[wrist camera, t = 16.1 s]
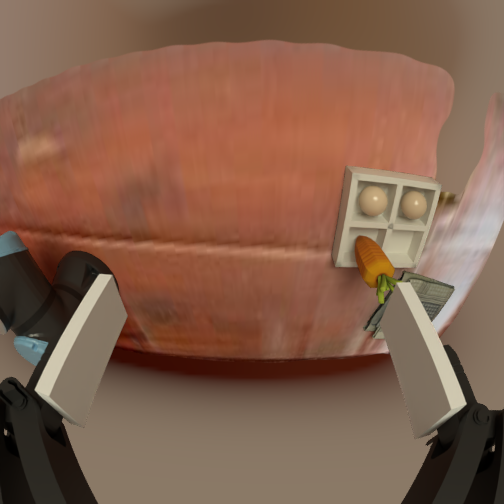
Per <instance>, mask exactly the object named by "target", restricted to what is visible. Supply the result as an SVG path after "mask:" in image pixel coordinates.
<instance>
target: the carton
mask: <svg viewBox="0 0 504 504" xmlns="http://www.w3.org/2000/svg"><path fill="white" fill-rule="evenodd" d="M368 186H378V187H380V188H381V189H382V190H384V192H385V193H386V195H387V198H388V204H387V208H386V210H385V211H384V212H383V213H382V214H380V215H378V216H369V215H367V214H365V213H364V212H363V211H362V210H361V208H360V206H359V202H358V198H359V194H360V192H361V191H362V190H363V189H364V188H365V187H368ZM441 187H442V185H441V184H439V183H438V182H437V181H435V180H434V179H433V178H431V177H426V176H420V175H414V174H408V173H401V172H394V171H387V170H380V169H372V168H364V167H355V166H346V168H345V176H344V183H343V190H342V197H341V203H340V209H339V216H338V221H337V227H336V233H335V238H334V244H333V249H332V254H331V255H332V258H333V261H334V264H335V267H358V266H357V263H356V258H355V251H354V250H355V243H356V239H357V237H358V236H359V235H360V236H367V237H369V238H371V239H372V240H373V241H375V242H376V243H377V244H378V245H379V246H380V248H381V249H382V250H383V252H384V253H385V255H386V256H387V257H388V259H389V260H390V262H391V263H392V265H393V266H394V268H416V266H417V264H418V261H419V258H420V256H421V253H422V250H423V247H424V244H425V242H426V239H427V236H428V232H429V229H430V226H431V223H432V220H433V216H434V213H435V210H436V206H437V202H438V199H439V195H440V191H441ZM408 191H418V192H420V193H421V194H422V195H423V196H424V197H425V199H426V202H427V210H426V212H425V214H424V215H423V216H422V217H421V218H419V219H410V218H408V217H406V216H405V215H404V214H403V212H402V210H401V207H400V202H401V198H402V196H403V195H404V194H405V193H406V192H408Z"/></svg>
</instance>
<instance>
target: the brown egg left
mask: <svg viewBox="0 0 504 504" xmlns="http://www.w3.org/2000/svg"><path fill="white" fill-rule="evenodd" d="M358 202H359V206H360V208H361V210H362V211H363V212H364V213H365V214H367V215H369V216H378V215H380V214H382V213H383V212H384V211H385V210H386V208H387V204H388V198H387V195H386V193H385V192H384V190H382V189H381V188H380V187H378V186H368V187H365V188H364V189H363V190H362V191H361V192H360V194H359V198H358Z"/></svg>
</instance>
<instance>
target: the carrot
mask: <svg viewBox="0 0 504 504" xmlns="http://www.w3.org/2000/svg"><path fill="white" fill-rule="evenodd" d="M354 251H355V258H356V263H357V266H358V268H359V271H360V274H361V276H362V278H363V280H364V281H365V282H366V283H367V285H368V286H369V287H370V288H377V293H376V295H378V301H379V303H381V304H383V303H384V291H386V290H389V288H390V290H391V291H392V292H393V290H394V287H393V286H392V285H391V284H390V283H392V284H394V285H396V283H401V282H402V281H400V280H396V279H394V278H392V277H393V274H394V271H395V269H394V266H393V265H392V263H391V262H390V260H389V259H388V257H387V256H386V255H385V253H384V252H383V250H382V249H381V248H380V246H379V245H378V244H377V243H376V242H375V241H373V240H372V239H371V238H369V237H367V236H360V235H359V236H358V237H357V239H356V243H355V250H354ZM389 282H390V283H389Z"/></svg>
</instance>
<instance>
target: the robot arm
mask: <svg viewBox="0 0 504 504" xmlns="http://www.w3.org/2000/svg"><path fill="white" fill-rule="evenodd" d="M28 250H29V249H28V248H27V247H26V246H25V245H24V243H23V242H22V240H21V239H20V237H19V236H18V234H17V233H15V232H13V231H8V232H6V233H4V234H3V235H1V236H0V334H6V333H7V332H8V330H9V329H11V330H12V331H13V332H14V333H15V334H16V336H17V337H15V339H14V346H15V348H16V349H17V351H18V352H19V353H20V355H22V356H23V357H24V358H25V359H26V360H27V361H29V362H30V363H32V364H33V365H35V366H36V368H35V370H34V372H33V374H32V376H31V378H30V380H29V382H28V384H27V386H26V388H24V386H23V385H21V383H20V382H19V381H18V380H17V379H16V378H13V377H9V378H6V379H5V380H3V381H2V383H1V384H0V504H98V503H97V501H96V499H95V497H94V495H93V493H92V491H91V489H90V487H89V485H88V483H87V481H86V479H85V477H84V475H83V472H82V470H81V468H80V466H79V463H78V461H77V459H76V456H75V454H74V451H73V449H72V446H71V443H70V441H69V438H68V435H67V432H66V429H65V426H64V424H63V423H62V419H63V417H64V418H65V419H66V420H67V421H68V422H69V423H71V424H74V425H77V426H79V427H82V428H84V427H85V423H86V420H87V418H88V415H89V412H90V409H91V406H92V403H93V400H94V397H95V395H96V392H97V389H98V386H99V384H100V381H101V378H102V376H103V373H104V371H105V368H106V365H107V363H108V361H109V358H110V356H111V353H112V351H113V348H114V346H115V344H116V341H117V339H118V337H119V334H120V332H121V330H122V327H123V325H124V323H125V321H126V318H127V313H126V311H125V308H124V306H123V303H122V300H121V298H120V295H119V292H118V285H117V281H116V279H115V277H114V275H113V274H112V272H111V271H110V269H109V268H108V267H107V266H106V265H105V264H104V263H103V262H102V261H101V260H99V259H98V258H96V257H95V256H93V255H91V254H89V253H86V252H83V251H72V252H69V253H67V254H66V255H65V256H64V257H63V259H62V260H61V261H60V262H59V264H58V267H57V273H56V275H55V277H54V280H53V283H52V286H51V284H50V283H49V281H48V280H47V279H46V277H45V276H44V274H43V273H42V271H41V270H40V268H39V267H38V265H37V264H36V262H35V260H34V259H33V257H32V256H31V254H30V252H29V251H28ZM380 326H381V329H382V332H383V334H384V337H385V340H386V343H387V346H388V349H389V352H390V354H391V357H392V360H393V364H394V367H395V369H396V373H397V376H398V379H399V382H400V386H401V389H402V393H403V396H404V400H405V403H406V407H407V410H408V414H409V418H410V422H411V426H412V430H413V434H414V438H415V439H417V438H420V437H424V436H427V435H430V434H431V433H432V432H434V431H435V430H436V429H437V431H438V434H437V435H436V436H435V437H433V438H432V439H430V440H429V441H428V442H427V444H426V445H427V446H428V445H429V444H431V443H432V442H433V444H432V445H431V448H430V451H429V453H428V454H427V457H426V459H425V461H424V463H423V465H422V467H421V469H420V471H419V473H418V475H417V477H416V479H415V480H414V482H413V484H412V486H411V488H410V489H409V491H408V493H407V495H406V496H405V498H404V500H403V501H402V503H401V504H504V409H503V410H488V408H487V407H486V406H485V405H483V404H480V403H477V401H476V399H475V396H474V394H473V391H472V389H471V386H470V384H469V381H468V379H467V376H466V374H465V373H464V370H463V367H462V365H460V360H459V358H458V356H457V354H456V352H455V351H454V350H453V349H452V348H451V347H450V346H449V345H444V346H443V345H442V343H441V341H440V339H439V337H438V335H437V333H436V331H435V329H434V326H433V324H432V323H431V321H430V319H429V317H428V315H427V313H426V311H425V309H424V307H423V305H422V303H421V301H420V300H419V298H418V296H417V294H416V292H415V291H414V289H413V287H412V285H411V283H410V282H401V283H396V285H395V288H394V290H393V293H392V295H391V298H390V300H389V303H388V305H387V307H386V310H385V312H384V314H383V317H382V319H381V321H380ZM4 429H5V430H7V435H4ZM494 445H495V451H494V452H493V451H492V446H494Z"/></svg>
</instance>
